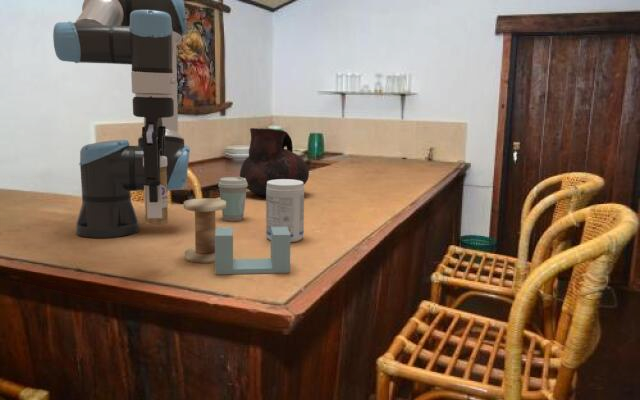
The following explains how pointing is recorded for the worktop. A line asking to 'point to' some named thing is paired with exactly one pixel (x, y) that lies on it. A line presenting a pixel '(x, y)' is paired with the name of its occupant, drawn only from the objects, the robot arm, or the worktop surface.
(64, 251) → the worktop surface
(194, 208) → the bobbin
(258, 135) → the jug
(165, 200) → the sprinkles bottle
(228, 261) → the blue-grey u-shaped block
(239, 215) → the coffee cup
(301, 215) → the supplement tub
